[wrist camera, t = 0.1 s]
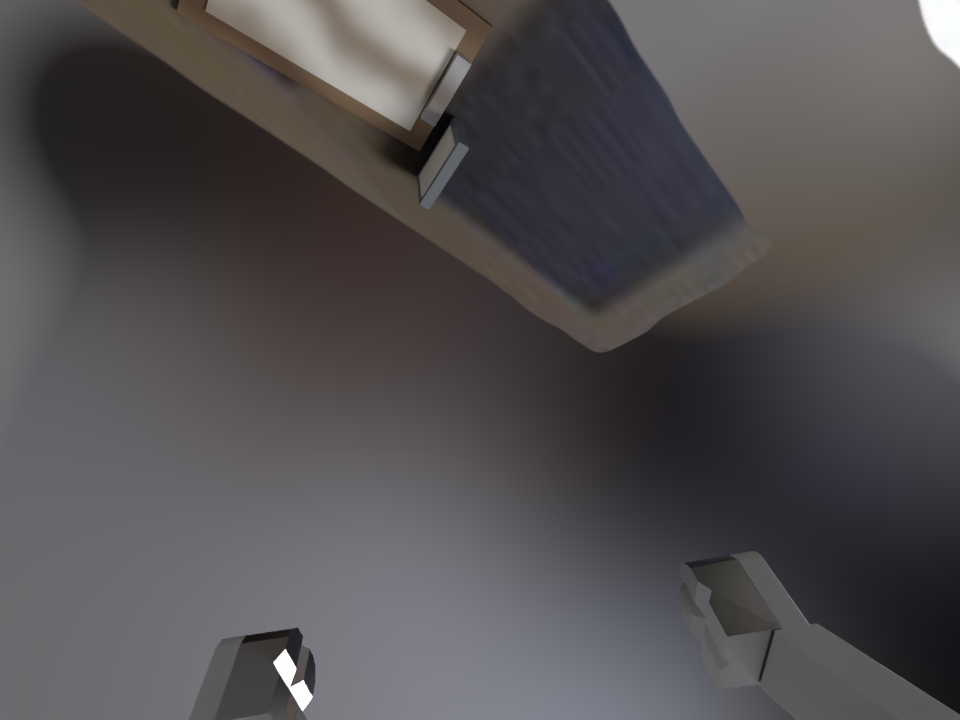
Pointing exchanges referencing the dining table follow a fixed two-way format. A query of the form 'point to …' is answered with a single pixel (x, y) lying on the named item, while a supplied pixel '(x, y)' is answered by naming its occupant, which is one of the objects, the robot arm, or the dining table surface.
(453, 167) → the picture frame
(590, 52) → the dining table surface
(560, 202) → the dining table surface
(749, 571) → the robot arm
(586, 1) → the dining table surface
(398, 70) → the clipboard
